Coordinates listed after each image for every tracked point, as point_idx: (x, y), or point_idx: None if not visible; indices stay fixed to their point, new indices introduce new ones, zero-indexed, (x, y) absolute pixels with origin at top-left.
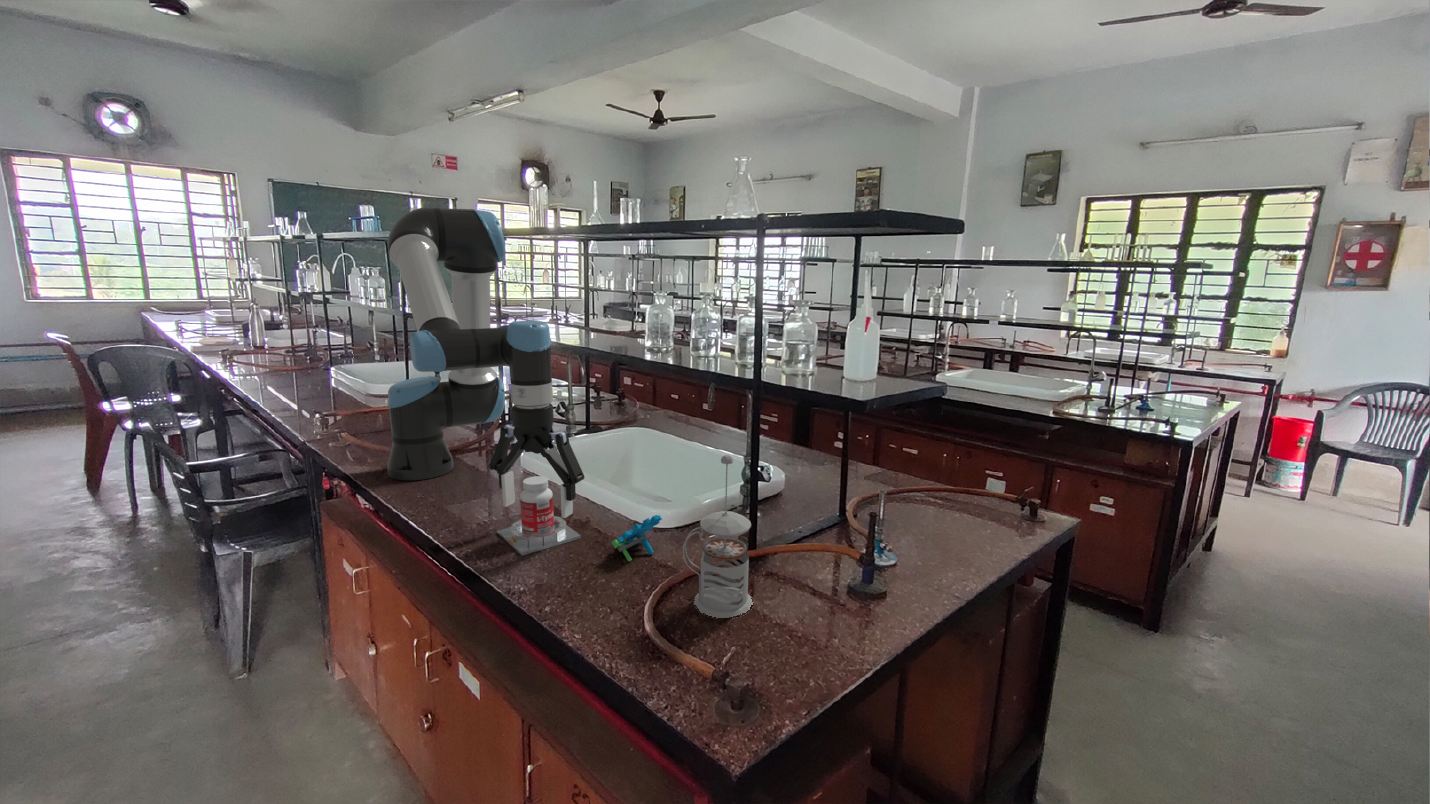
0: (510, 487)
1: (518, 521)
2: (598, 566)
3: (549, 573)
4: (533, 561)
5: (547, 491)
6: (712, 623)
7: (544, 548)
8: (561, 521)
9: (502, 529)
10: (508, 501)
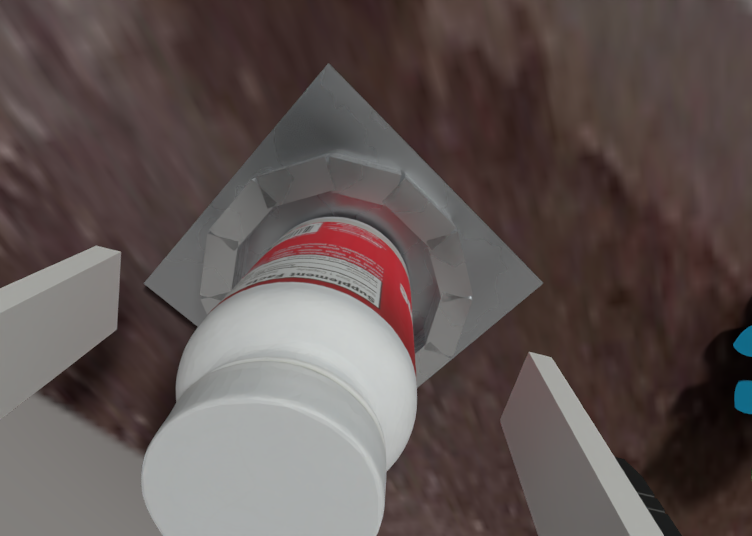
0: (29, 338)
1: (211, 263)
2: (650, 473)
3: (488, 523)
4: (406, 465)
5: (386, 429)
6: None
7: None
8: (431, 230)
9: (159, 273)
10: (100, 321)
